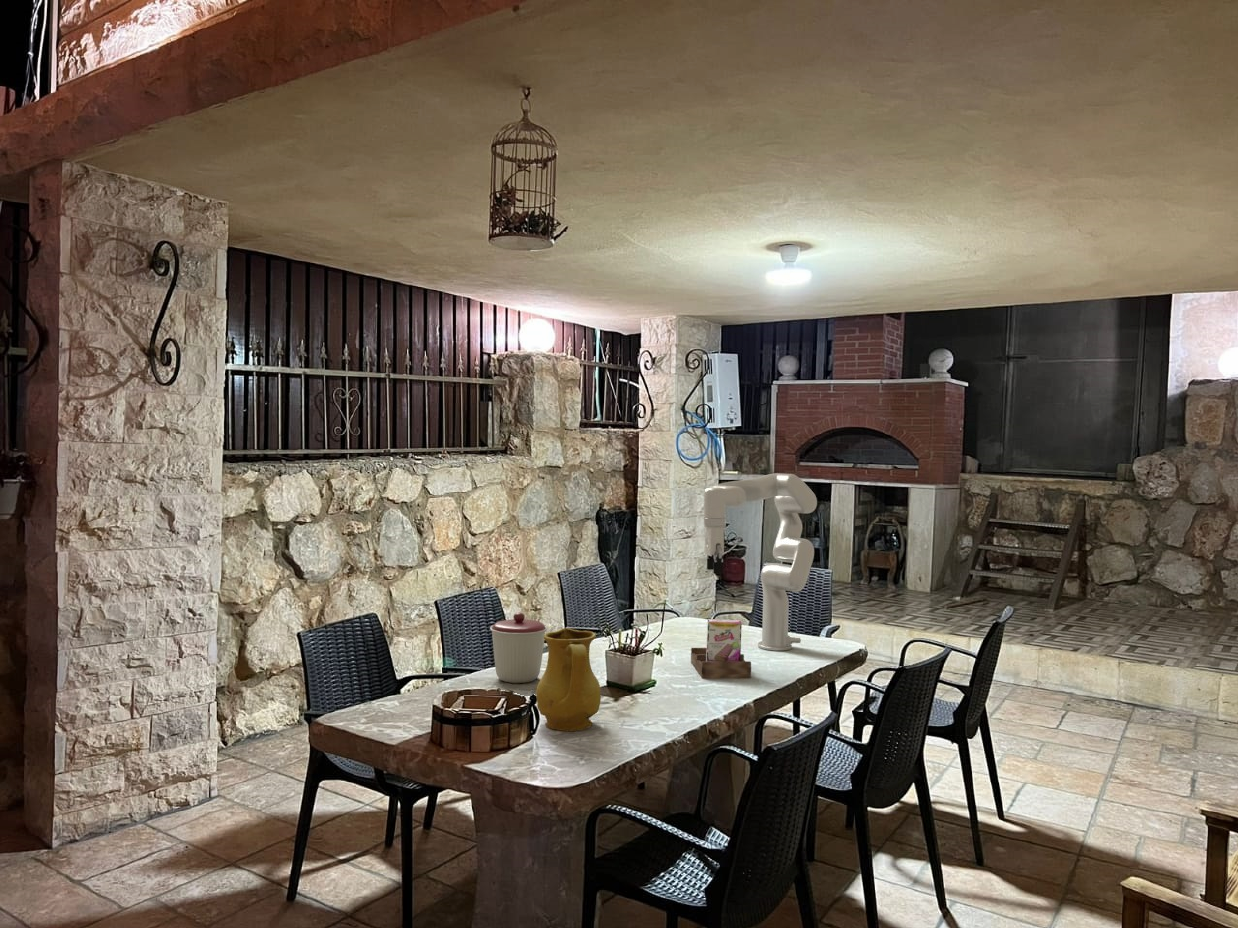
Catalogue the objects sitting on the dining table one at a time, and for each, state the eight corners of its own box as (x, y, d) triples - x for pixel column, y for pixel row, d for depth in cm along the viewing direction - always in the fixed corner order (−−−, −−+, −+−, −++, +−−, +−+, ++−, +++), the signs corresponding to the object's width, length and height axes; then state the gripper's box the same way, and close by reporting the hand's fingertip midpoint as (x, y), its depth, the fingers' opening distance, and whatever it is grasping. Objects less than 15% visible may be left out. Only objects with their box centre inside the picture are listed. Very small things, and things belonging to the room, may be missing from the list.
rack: (736, 662, 307) (736, 647, 307) (750, 678, 287) (751, 662, 286) (690, 662, 306) (691, 647, 306) (702, 678, 285) (702, 662, 285)
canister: (512, 669, 292) (513, 605, 291) (557, 677, 283) (559, 611, 282) (477, 681, 276) (478, 613, 276) (524, 690, 267) (525, 620, 267)
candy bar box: (706, 671, 289) (707, 621, 289) (705, 667, 294) (706, 618, 294) (740, 672, 288) (742, 622, 288) (739, 668, 293) (740, 619, 293)
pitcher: (608, 715, 242) (606, 625, 240) (591, 740, 223) (588, 643, 222) (548, 712, 245) (546, 623, 244) (526, 736, 227) (523, 640, 226)
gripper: (699, 520, 317) (698, 568, 317) (710, 525, 299) (709, 575, 300) (719, 520, 318) (719, 567, 318) (731, 525, 300) (731, 575, 301)
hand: (714, 571), depth 309 cm, fingers open, 9 cm apart
